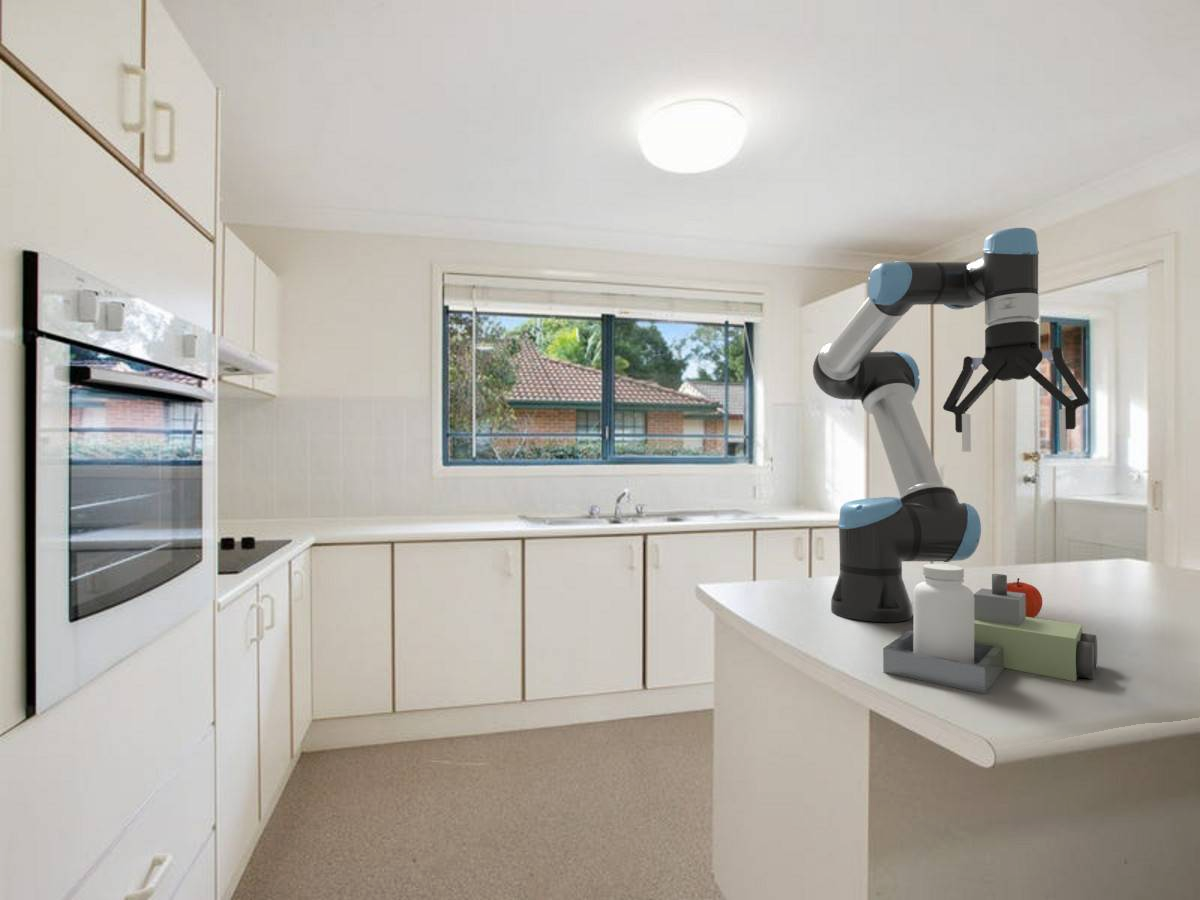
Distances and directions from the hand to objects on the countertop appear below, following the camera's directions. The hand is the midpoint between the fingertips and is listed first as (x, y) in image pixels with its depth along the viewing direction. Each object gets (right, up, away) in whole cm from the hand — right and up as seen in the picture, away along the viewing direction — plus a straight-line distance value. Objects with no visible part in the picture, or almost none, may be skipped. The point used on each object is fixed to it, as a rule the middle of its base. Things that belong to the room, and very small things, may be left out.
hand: (1013, 451), depth 103 cm
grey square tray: (-18, -33, -11) cm, 39 cm away
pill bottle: (-18, -32, -11) cm, 39 cm away
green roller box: (-5, -33, -6) cm, 34 cm away
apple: (+13, -33, +19) cm, 40 cm away
